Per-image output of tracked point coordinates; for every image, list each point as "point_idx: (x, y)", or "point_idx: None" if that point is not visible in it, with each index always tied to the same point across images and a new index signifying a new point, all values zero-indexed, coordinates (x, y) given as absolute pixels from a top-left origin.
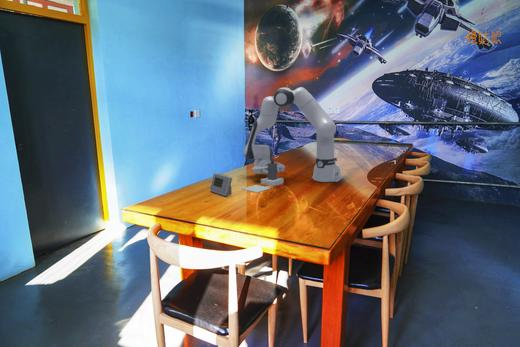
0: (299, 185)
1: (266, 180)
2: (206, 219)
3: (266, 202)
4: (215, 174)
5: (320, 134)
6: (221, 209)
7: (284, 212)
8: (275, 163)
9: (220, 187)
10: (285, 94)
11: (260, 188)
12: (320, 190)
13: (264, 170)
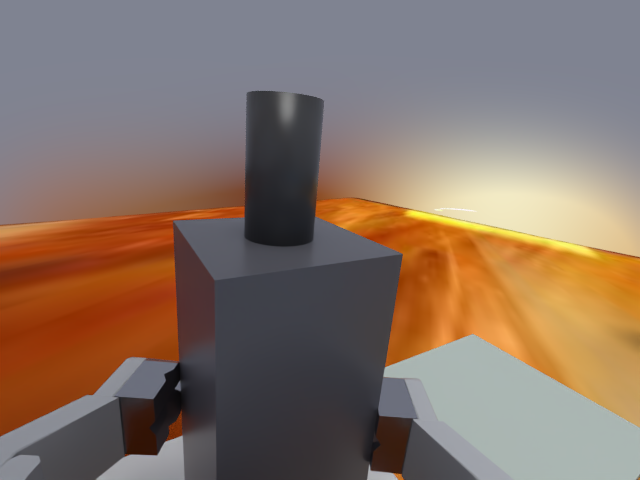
0: (64, 374)
1: (393, 477)
2: (569, 248)
3: (418, 263)
4: None
5: None
6: (567, 267)
7: (376, 230)
8: (219, 221)
9: None
10: None
11: (459, 391)
12: (103, 277)
13: (463, 454)
